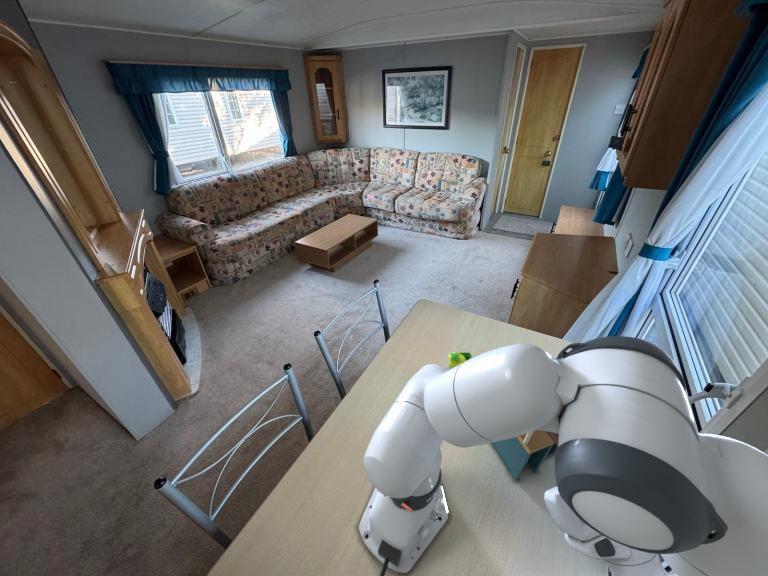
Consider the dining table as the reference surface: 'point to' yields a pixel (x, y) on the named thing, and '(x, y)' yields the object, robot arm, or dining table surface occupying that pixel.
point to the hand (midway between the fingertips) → (575, 448)
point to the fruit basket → (458, 358)
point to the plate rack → (525, 451)
